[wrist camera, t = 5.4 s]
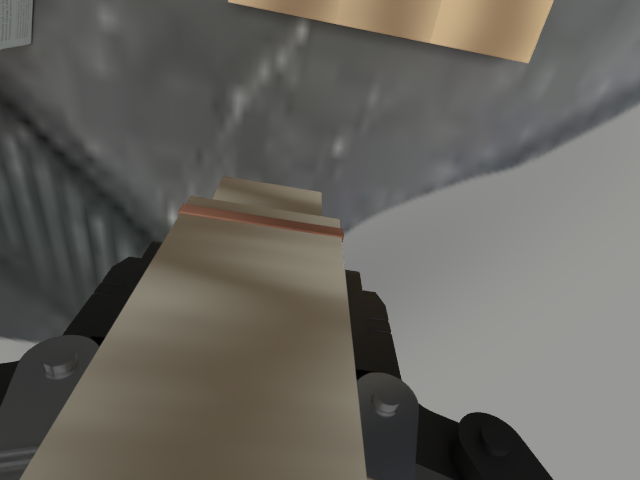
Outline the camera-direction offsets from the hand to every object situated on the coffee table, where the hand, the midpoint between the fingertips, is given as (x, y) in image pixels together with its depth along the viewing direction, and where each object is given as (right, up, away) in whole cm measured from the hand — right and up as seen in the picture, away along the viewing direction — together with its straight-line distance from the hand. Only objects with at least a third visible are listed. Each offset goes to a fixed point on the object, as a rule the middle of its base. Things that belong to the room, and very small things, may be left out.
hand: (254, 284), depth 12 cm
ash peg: (0, +2, +3) cm, 3 cm away
